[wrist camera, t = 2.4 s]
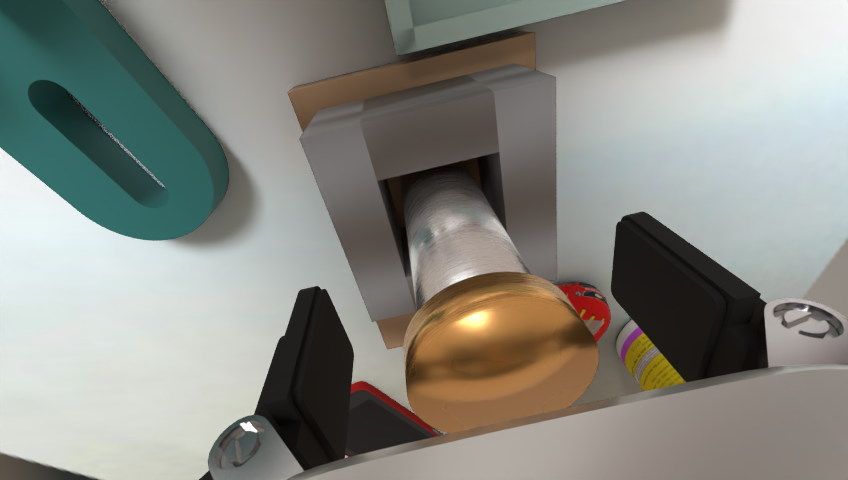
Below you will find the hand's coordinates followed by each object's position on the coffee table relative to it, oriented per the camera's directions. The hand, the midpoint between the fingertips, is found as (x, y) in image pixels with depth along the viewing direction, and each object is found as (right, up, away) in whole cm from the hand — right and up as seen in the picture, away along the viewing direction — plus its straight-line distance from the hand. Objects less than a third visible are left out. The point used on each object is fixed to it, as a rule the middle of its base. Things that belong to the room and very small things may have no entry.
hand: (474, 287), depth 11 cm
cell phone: (-5, -16, +22) cm, 27 cm away
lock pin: (-1, +5, +7) cm, 8 cm away
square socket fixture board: (-1, +3, +10) cm, 10 cm away
